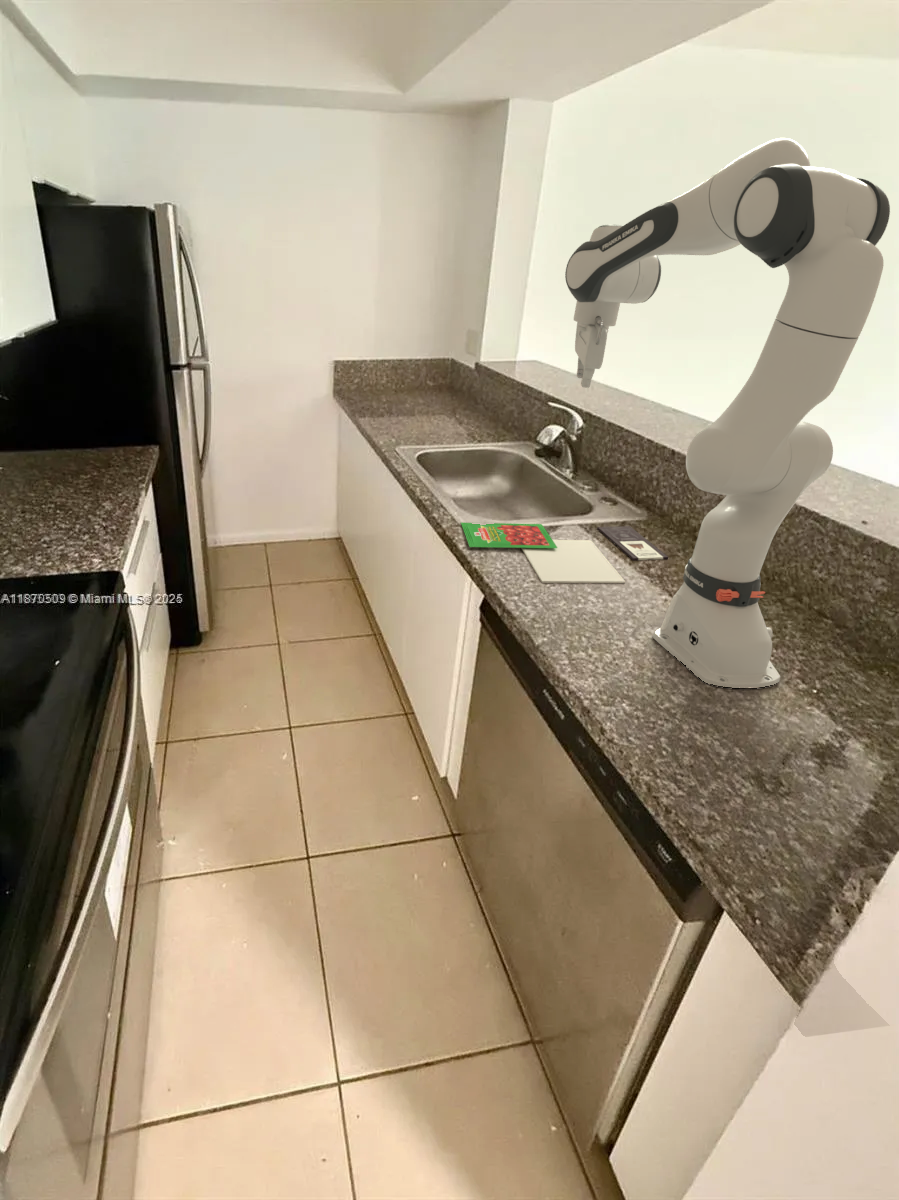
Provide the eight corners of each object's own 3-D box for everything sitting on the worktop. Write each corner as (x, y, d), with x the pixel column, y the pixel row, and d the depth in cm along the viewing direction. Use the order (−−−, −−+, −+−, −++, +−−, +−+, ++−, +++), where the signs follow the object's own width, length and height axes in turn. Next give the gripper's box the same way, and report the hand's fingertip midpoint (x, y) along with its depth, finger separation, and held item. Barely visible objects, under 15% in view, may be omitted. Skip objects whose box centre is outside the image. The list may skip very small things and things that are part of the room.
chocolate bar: (629, 526, 163) (668, 556, 148) (629, 529, 163) (667, 560, 148) (597, 526, 161) (633, 558, 146) (596, 530, 161) (632, 562, 146)
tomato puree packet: (557, 545, 145) (469, 544, 143) (557, 550, 146) (469, 549, 143) (541, 522, 159) (460, 520, 156) (541, 526, 159) (460, 524, 157)
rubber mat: (624, 583, 135) (625, 581, 135) (541, 582, 132) (542, 581, 132) (590, 541, 153) (590, 540, 153) (516, 540, 150) (517, 539, 150)
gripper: (618, 322, 127) (603, 394, 134) (604, 310, 144) (591, 374, 151) (586, 318, 127) (572, 391, 134) (576, 306, 144) (564, 371, 151)
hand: (582, 382), depth 143 cm, fingers open, 8 cm apart
